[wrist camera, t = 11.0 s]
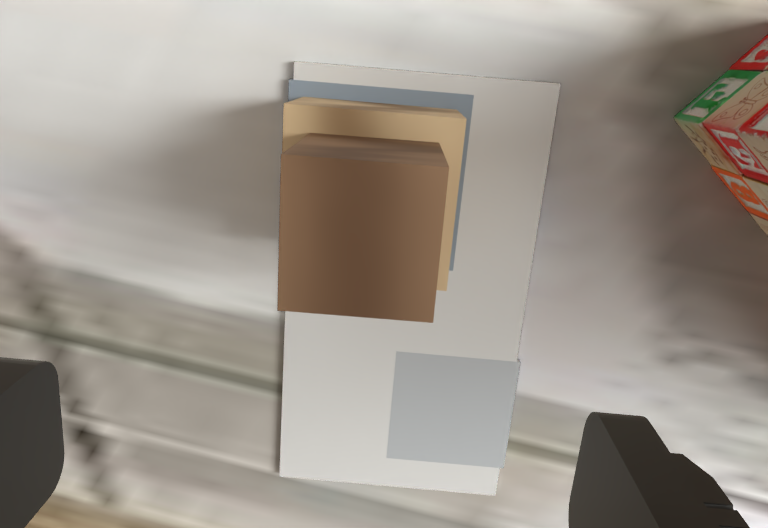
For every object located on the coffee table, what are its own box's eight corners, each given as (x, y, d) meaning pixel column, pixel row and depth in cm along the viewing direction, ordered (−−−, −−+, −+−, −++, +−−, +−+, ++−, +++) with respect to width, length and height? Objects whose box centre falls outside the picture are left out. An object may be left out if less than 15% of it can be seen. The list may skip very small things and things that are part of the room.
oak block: (456, 109, 29) (466, 119, 24) (440, 256, 31) (446, 291, 26) (303, 96, 29) (283, 103, 24) (297, 243, 31) (278, 276, 26)
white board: (563, 83, 29) (565, 84, 29) (497, 491, 36) (499, 495, 35) (291, 61, 29) (289, 60, 29) (277, 471, 36) (275, 476, 35)
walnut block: (438, 142, 25) (449, 166, 19) (427, 265, 26) (433, 322, 20) (310, 132, 25) (281, 154, 19) (305, 256, 26) (277, 310, 20)
